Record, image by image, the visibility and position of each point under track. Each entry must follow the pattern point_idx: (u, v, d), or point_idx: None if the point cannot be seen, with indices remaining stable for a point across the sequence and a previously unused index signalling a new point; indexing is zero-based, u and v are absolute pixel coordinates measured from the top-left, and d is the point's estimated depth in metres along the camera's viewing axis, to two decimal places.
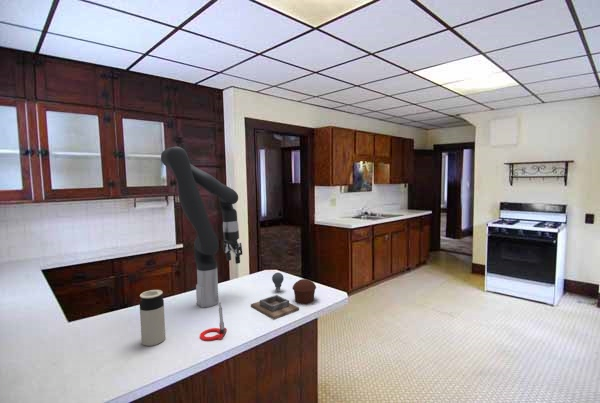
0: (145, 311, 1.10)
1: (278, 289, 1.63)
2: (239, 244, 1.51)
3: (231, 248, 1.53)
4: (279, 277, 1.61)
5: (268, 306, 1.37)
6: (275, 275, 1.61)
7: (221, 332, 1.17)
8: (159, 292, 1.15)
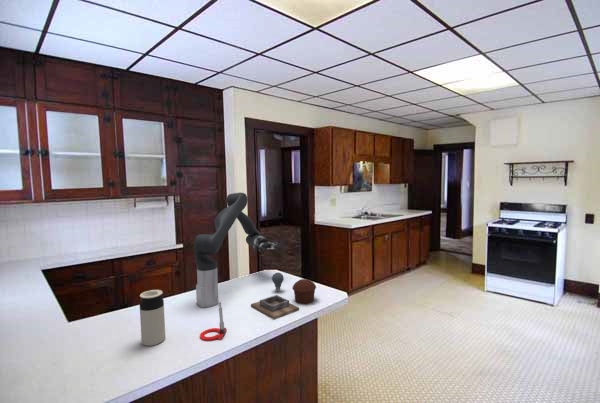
0: (145, 311, 1.10)
1: (278, 289, 1.63)
2: None
3: (269, 242, 1.80)
4: (279, 277, 1.61)
5: (268, 306, 1.37)
6: (275, 275, 1.61)
7: (221, 332, 1.17)
8: (159, 292, 1.15)
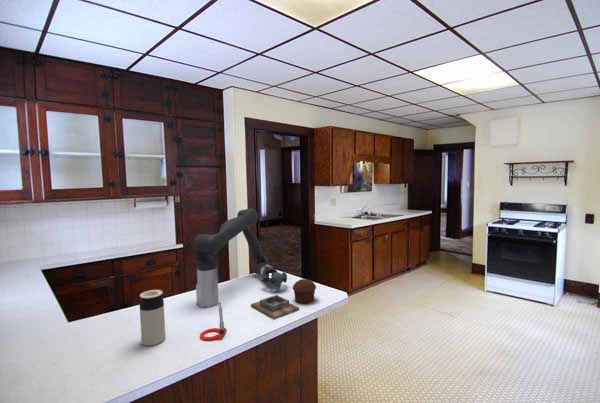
0: (145, 311, 1.10)
1: (278, 289, 1.63)
2: None
3: None
4: (279, 277, 1.61)
5: (268, 306, 1.37)
6: (275, 275, 1.61)
7: (221, 332, 1.17)
8: (159, 292, 1.15)
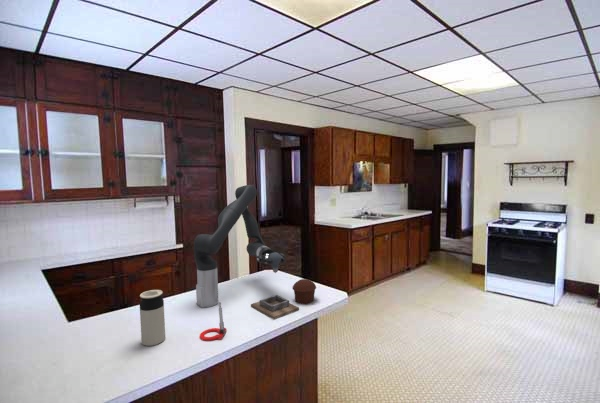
0: (145, 311, 1.10)
1: (275, 270, 1.50)
2: None
3: None
4: (276, 257, 1.48)
5: (268, 306, 1.37)
6: (272, 255, 1.48)
7: (221, 332, 1.17)
8: (159, 292, 1.15)
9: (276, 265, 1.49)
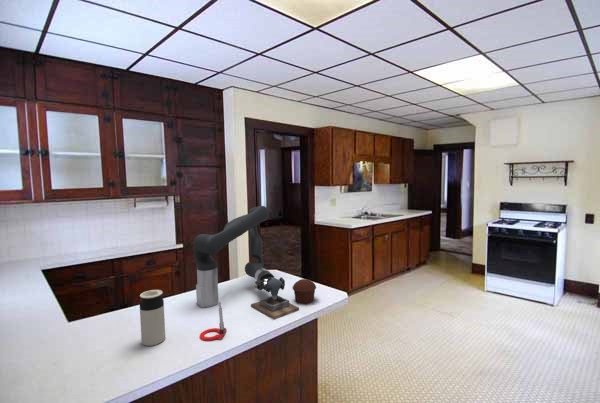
0: (145, 311, 1.10)
1: (275, 297, 1.41)
2: None
3: None
4: (276, 284, 1.39)
5: (268, 306, 1.37)
6: (271, 281, 1.40)
7: (221, 332, 1.17)
8: (159, 292, 1.15)
9: (275, 292, 1.41)
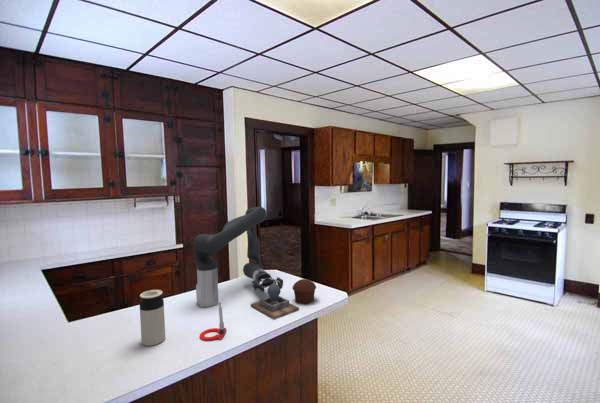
0: (145, 311, 1.10)
1: (274, 303, 1.41)
2: None
3: (271, 279, 1.51)
4: (275, 290, 1.39)
5: (268, 306, 1.37)
6: (271, 287, 1.40)
7: (221, 332, 1.17)
8: (159, 292, 1.15)
9: (275, 298, 1.40)
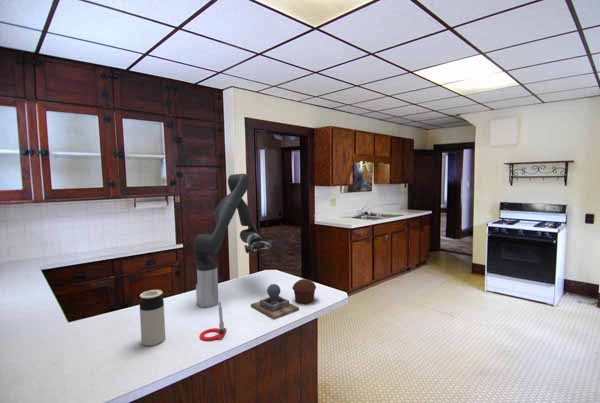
0: (145, 311, 1.10)
1: (274, 303, 1.41)
2: None
3: (262, 242, 1.59)
4: (275, 289, 1.39)
5: (268, 306, 1.37)
6: (271, 287, 1.40)
7: (221, 332, 1.17)
8: (159, 292, 1.15)
9: (275, 298, 1.41)
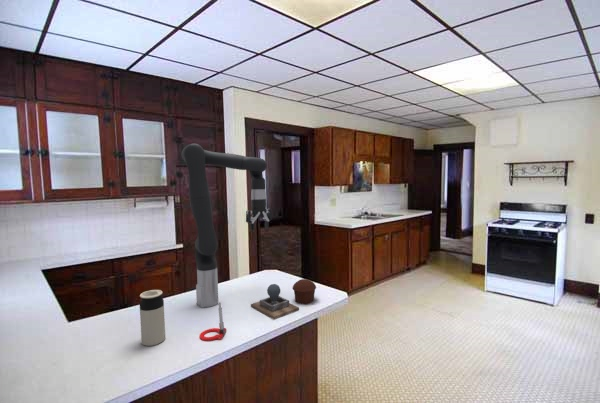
0: (145, 311, 1.10)
1: (274, 303, 1.41)
2: (247, 212, 1.54)
3: None
4: (275, 289, 1.39)
5: (268, 306, 1.37)
6: (271, 287, 1.40)
7: (221, 332, 1.17)
8: (159, 292, 1.15)
9: (275, 298, 1.41)
